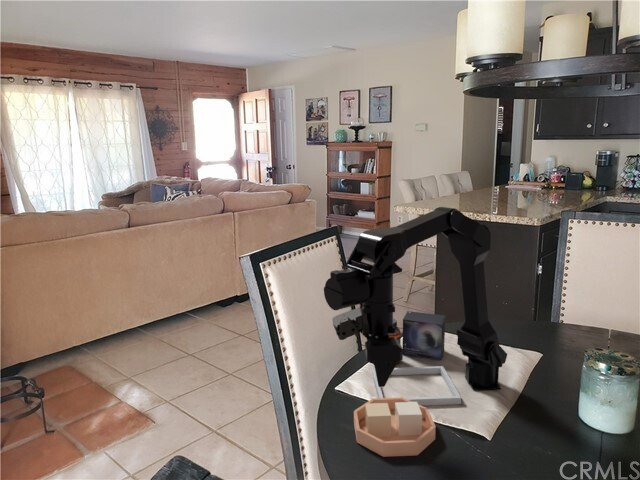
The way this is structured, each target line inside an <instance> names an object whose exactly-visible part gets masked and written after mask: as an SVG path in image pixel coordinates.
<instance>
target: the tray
mask: <svg viewBox="0 0 640 480" xmlns="http://www.w3.org/2000/svg"><path fill="white" fill-rule="evenodd" d="M431 374H433V375H435V374H436V375H437V374H438V375H439V374H440V375H441V378H442V380H443V381H444V383H445V385H446V386H447V388H448V391H449V392H450V394H451V395H447V396H445V395H444V396H425V397H424V396H423V397H422V396H419V397H404V398H405V399H407V400H409V401H412V402H417V403H418V404H419V405H421V406H441V405H442V406H444V405H461V404H462V396H461V395H460V393H459V391H458V390H457V388H456V386H455V385H454V383H453V381H452V380H451V378H450V376H449V374H448V373H447V371H446V369H445V367H444V365H441V366H439V365H436V366H415V367H413V366H411V367H410V366H409V367H395V368H394V370H393V371H392V373H391V375H390V376H404V375H405V376H407V375H411V376H412V375H431ZM371 376H372V379H373V383H374V388H375V391H376V396H377V398H384V395H383V392H382V387H379V386H378V381H377V377H376V372H375V368H372V369H371Z"/></svg>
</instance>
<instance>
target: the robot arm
mask: <svg viewBox="0 0 640 480" xmlns="http://www.w3.org/2000/svg"><path fill="white" fill-rule="evenodd" d="M440 234H442V235H444V236H445V238H447V239H448V243H449V247H450V251H451V253H452V255H453V256H454V257H455V259H456V260H457V261H458V263H459V273H460V281H461V293H462V302H463V303H462V304H463V311H464V314H463V315H464V322H463V324H462V325H461V327H460V328H458V329H457V330H456V337H457V342H456V343H457V345H458V346H459V349H460V350H461V354H462V355H463V356H465V357H467V362H465V373H464V379H465V380H466V382H467V384H468V385H469V386H470V387H471V389H472V390H473V391H488V390H489V391H491V390H501V388H502V386H501V384H499V373H500V371H499V370H500V368H502V367H503V364H505V363H506V361H507V357H508V353H507V352H506V351H505V350H504V349H503V347H501V346H500V343H499V342H500V341H499V339H498V333H497V331H496V329H495V328H494V327H493V325H492V324H491V322H490V320H489V313H488V299H487V288H486V286H487V285H486V275H485V265H484V264H485V263H484V262H485V260H486V258H487V256H488V255H489V253H490V251H491V244H492V243H491V241H492V239H491V238H492V236H491V235H492V234H491V229H490V227H488V226H487V225H486V224H482V223H480V222H478V221H477V220H474V219H472V218H471V217H469V216H467V215H465V214H464V213H463V212H462V211H460V210H458V209H457V208H453V207H445V206H439V207H436V208H435V209H433V210H432V211H429V212H427V213H425V214H422V215H420V216H418V217H416V218H412V219H411V220H408V221H406V222H403V223H401V224H399V225H397V226H391V227H379V228H373V229H368V230H364V231H363V232H362V233H360V234H359V236H358V240H357V242H356V244H355V246H354V247H353V250H352V252H351V254H350V255H349V258H348V259H347V261H346V263H345V264H344V269H340V270H339V269H338V270H331V271H330V278H328V279H327V280H326V281H325V285H324V287H323V295H324V299H325V301H326V304H327V306H329V308H330V309H331V310H332V311H340V310H343V309H347V308H350V307H354V306H357V305H359V307H358V308H355V309H354V308H353V309H350V310H348V311H345V312H342V313H339V314H337V315H335V316H333V317H332V325H333V328H334V330H335V334H336V336H337V337H338V339H339V340H340V341H344V340H346V339H347V338H349V337H352V336H356V335H357V334H359V333H360V334H361V335H362V336H364V338H366V341H365V342H364V352H365V358H366V361H367V363H370V364H372V365H373V366H374V369H375V372H376V377H377V381H378V386H379V387H380V388H384V387H385V386H386V384H387V383H388V381H389V379H390V377H391V376H392V375H391V373H392V371H393V370H394V368H396V366H397V365H398V364H399V363H400V362H401V361H403V360H404V359H403V357H404V355H403V346H402V344H401V342H399V341H398V340H397V339H396V338H395V337H389V336H388V333H395V327H394V325H393V319H394V313H396V306H395V303H394V275H395V274H398V273H402V272H403V268H402V267H400V265H398V264H397V263H396V262H397V261H399V260H400V259H402V258H403V257H404V256H405V253H407V251H408V249H410V248H411V247H413V246H415V245H417V244H420V243H422V242H424V241H427V240H428V239H431V238H433V237H436V236H438V235H440ZM363 261H366V262H369V263H366V262H363ZM371 263H372V264H371ZM345 268H346V269H345ZM398 362H399V363H398ZM397 363H398V364H397Z"/></svg>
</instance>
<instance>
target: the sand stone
mask: <svg viewBox="0 0 640 480" xmlns="http://www.w3.org/2000/svg"><path fill="white" fill-rule="evenodd" d="M364 404H365V403H364ZM365 420H366V429H367V433H369V434H371V435H373V436H375V437H385V436H391V413H390V410H389V406H388V403H371V404H365Z"/></svg>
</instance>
